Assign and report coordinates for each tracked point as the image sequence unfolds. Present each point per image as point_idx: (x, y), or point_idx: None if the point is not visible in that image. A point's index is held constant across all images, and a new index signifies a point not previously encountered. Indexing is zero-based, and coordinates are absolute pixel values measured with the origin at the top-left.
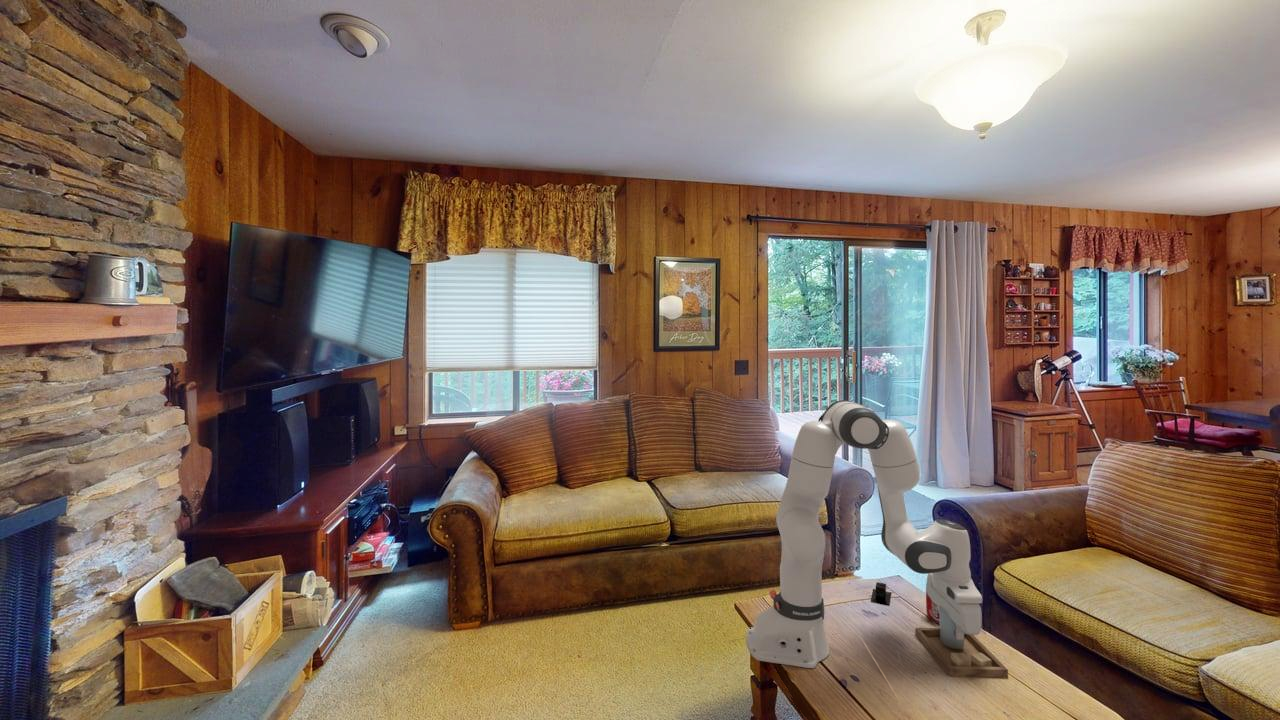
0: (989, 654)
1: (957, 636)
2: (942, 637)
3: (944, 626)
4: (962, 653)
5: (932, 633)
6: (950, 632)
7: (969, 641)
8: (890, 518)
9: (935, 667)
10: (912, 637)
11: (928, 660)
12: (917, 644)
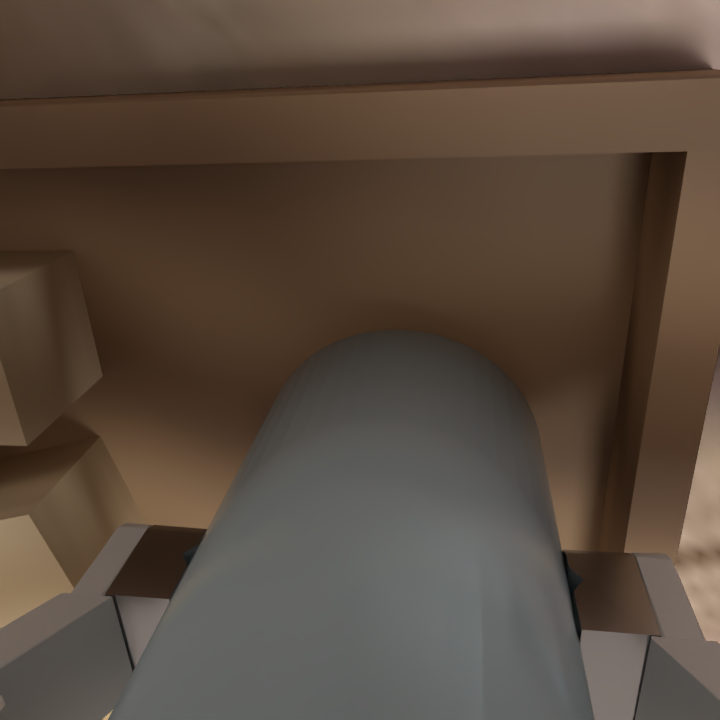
0: None
1: (107, 556)
2: (354, 371)
3: (261, 511)
4: (10, 433)
5: (643, 322)
6: (216, 518)
7: None
8: None
9: (15, 36)
10: (696, 3)
11: (141, 4)
12: (506, 6)
